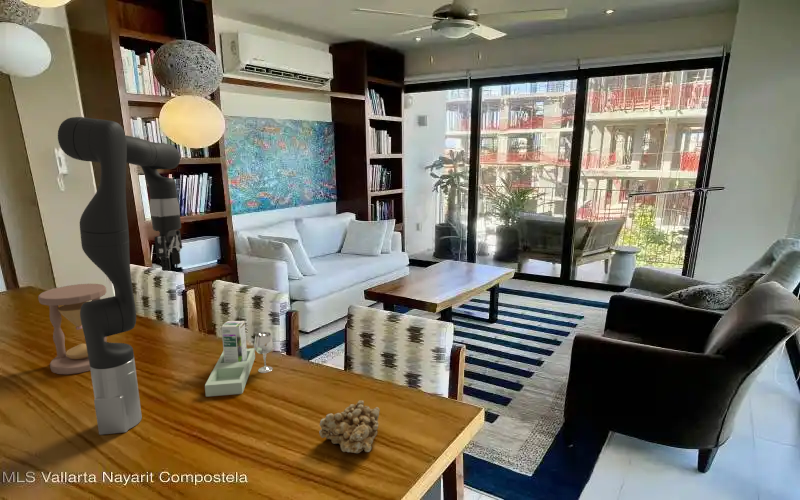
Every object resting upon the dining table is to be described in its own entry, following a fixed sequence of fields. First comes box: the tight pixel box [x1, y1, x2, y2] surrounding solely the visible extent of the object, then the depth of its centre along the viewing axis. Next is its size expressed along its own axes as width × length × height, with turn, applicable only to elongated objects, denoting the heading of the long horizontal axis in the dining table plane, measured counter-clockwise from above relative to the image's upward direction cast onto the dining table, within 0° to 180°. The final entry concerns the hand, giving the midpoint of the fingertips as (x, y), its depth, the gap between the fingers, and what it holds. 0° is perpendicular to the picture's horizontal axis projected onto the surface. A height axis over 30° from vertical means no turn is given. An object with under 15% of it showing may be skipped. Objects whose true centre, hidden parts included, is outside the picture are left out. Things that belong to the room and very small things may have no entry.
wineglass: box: [253, 331, 274, 374], centre depth 138 cm, size 6×6×12 cm
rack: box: [204, 347, 256, 397], centre depth 135 cm, size 24×10×4 cm, turn 10°
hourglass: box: [37, 283, 108, 375], centre depth 142 cm, size 18×18×25 cm
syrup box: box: [221, 320, 248, 363], centre depth 140 cm, size 6×6×14 cm
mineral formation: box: [318, 399, 381, 454], centre depth 104 cm, size 8×13×15 cm
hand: (171, 267), depth 130 cm, fingers open, 8 cm apart
